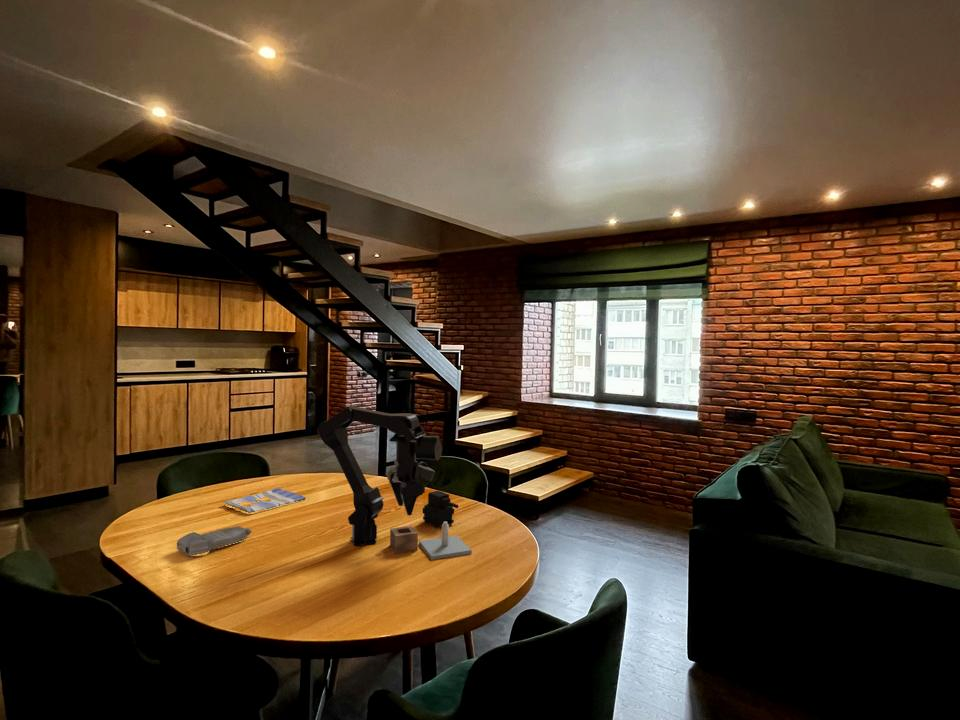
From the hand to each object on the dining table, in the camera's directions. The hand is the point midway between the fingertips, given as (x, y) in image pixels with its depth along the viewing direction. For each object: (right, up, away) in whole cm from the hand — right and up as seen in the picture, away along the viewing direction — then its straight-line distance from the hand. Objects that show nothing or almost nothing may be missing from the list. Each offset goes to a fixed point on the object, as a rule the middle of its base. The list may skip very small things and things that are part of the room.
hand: (404, 510), depth 149 cm
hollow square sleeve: (0, -11, 0) cm, 11 cm away
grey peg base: (+12, -11, 0) cm, 16 cm away
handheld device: (-55, -11, 0) cm, 56 cm away
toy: (+10, -11, +20) cm, 24 cm away
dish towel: (-58, -10, +39) cm, 71 cm away
